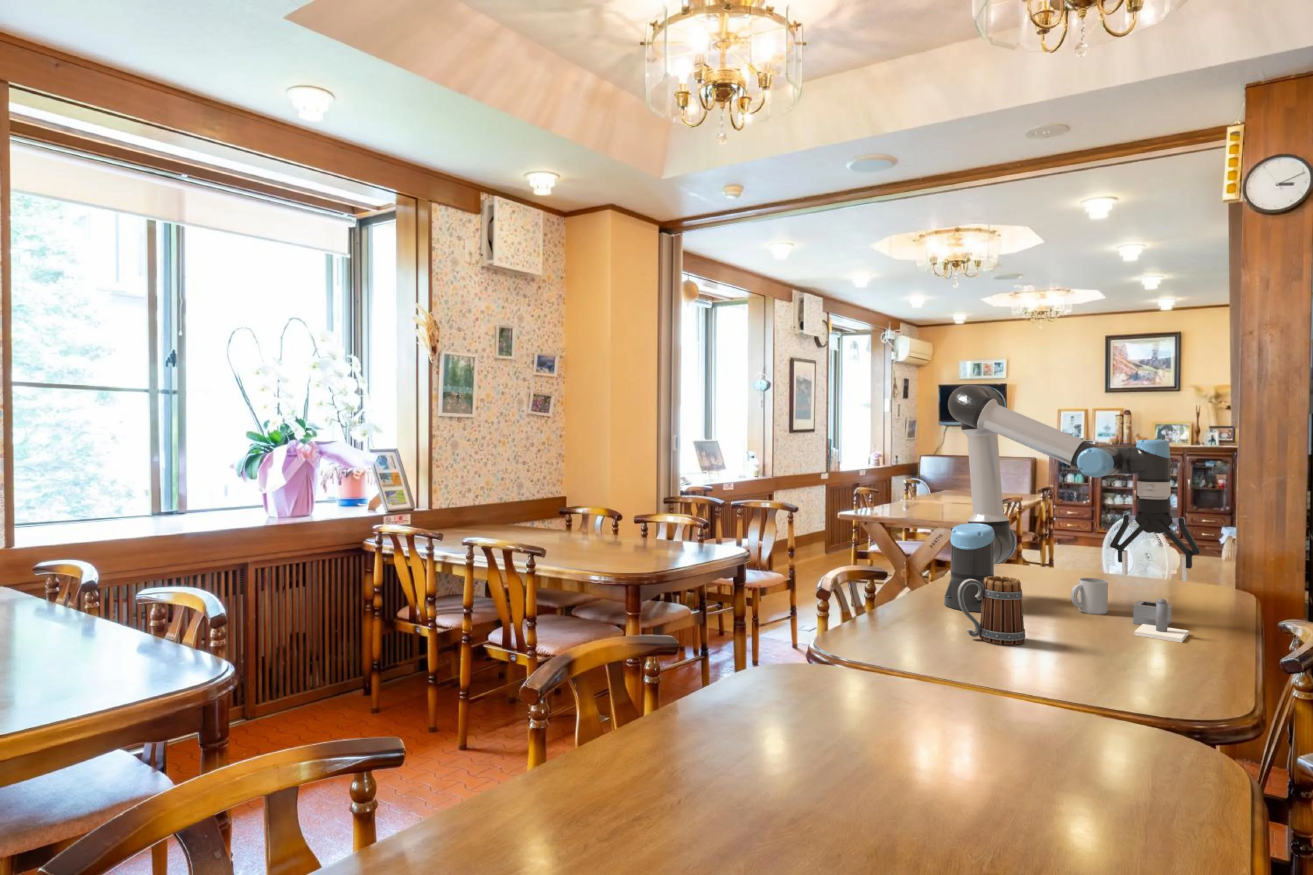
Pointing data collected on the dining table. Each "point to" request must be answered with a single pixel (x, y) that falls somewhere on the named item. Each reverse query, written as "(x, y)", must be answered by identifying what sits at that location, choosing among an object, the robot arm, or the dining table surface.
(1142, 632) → the peg stand
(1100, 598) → the cup
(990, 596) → the mug
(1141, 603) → the grey square storage bin
